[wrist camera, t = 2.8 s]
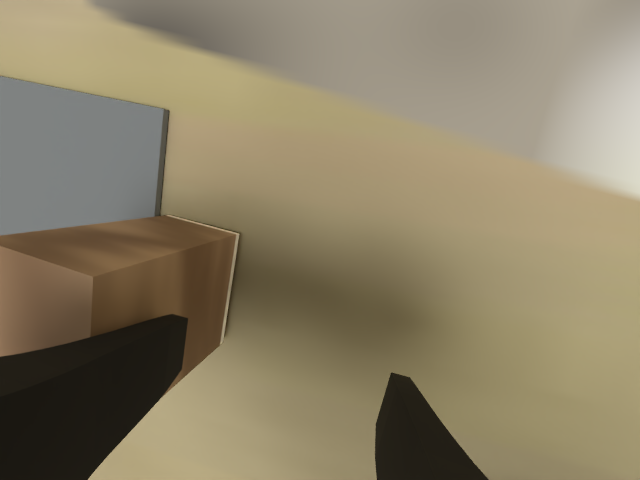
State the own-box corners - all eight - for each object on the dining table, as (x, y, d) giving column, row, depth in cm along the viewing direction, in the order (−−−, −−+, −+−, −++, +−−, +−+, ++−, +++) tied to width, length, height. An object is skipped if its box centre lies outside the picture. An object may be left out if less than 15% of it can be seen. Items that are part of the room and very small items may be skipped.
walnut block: (239, 233, 15) (93, 276, 8) (223, 342, 16) (84, 465, 9) (169, 214, 16) (-23, 238, 8) (159, 320, 17) (-16, 417, 10)
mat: (168, 110, 15) (163, 108, 14) (143, 394, 18) (138, 399, 18) (-81, 60, 16) (-92, 57, 15) (-60, 334, 19) (-69, 337, 19)
